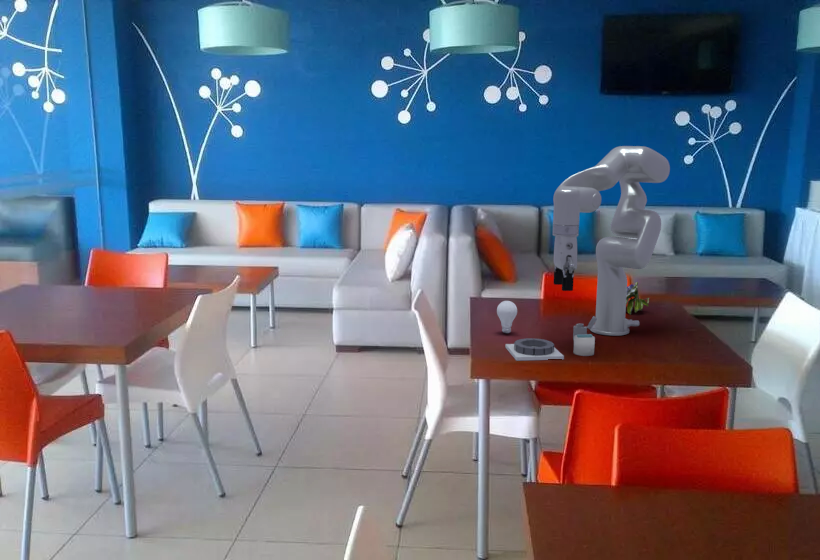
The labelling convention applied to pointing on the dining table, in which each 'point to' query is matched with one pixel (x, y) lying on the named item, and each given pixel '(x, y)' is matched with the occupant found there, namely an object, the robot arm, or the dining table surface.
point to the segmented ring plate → (533, 350)
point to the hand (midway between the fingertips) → (562, 287)
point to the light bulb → (506, 315)
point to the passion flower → (634, 299)
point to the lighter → (581, 329)
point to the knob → (584, 344)
